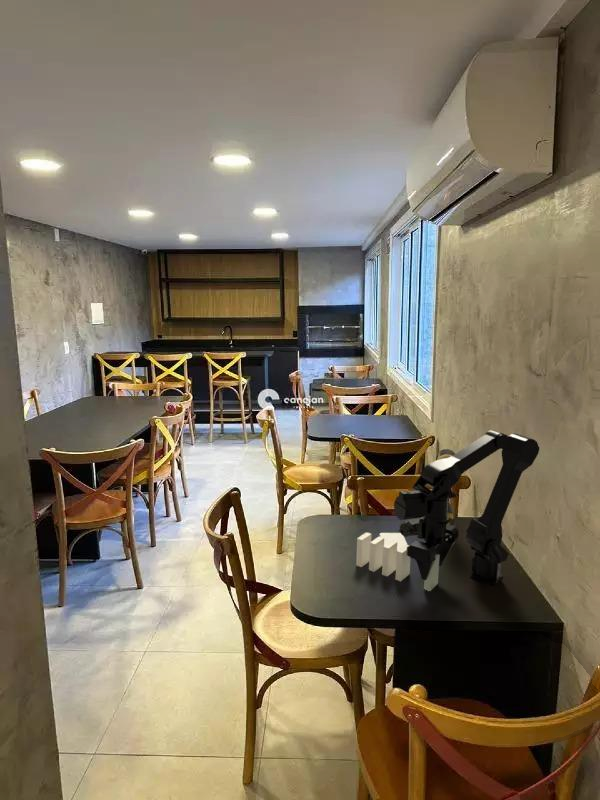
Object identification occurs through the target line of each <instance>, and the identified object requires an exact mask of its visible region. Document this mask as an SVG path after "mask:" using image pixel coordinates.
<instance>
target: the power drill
mask: <svg viewBox="0 0 600 800" xmlns="http://www.w3.org/2000/svg"><path fill="white" fill-rule="evenodd" d="M455 454H456V453H455V452H454V450H452V449H449V448H445V449H441V450H439V452H438V453H437V455H436V457H435V461H437V460H440V459H445V458H449V457H451V456H453V455H455ZM450 499H451V498H448V510H447V518H450V522H449V523H448V524H449V525H452V526H456V527H457V523H456V515H455V508H454V506H453V505H452V504H451V503H450ZM451 537H452V535H451Z"/></svg>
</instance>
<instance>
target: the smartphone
mask: <svg viewBox="0 0 600 800" xmlns="http://www.w3.org/2000/svg"><path fill="white" fill-rule="evenodd" d="M379 536H380V537H383V538H384V546H385V545H386V544H388V543H389V542H390V541H392V540H393V541H396V542H397V551H398V550H399V549H400V548H402V547H403V546H404V545H405V544H406V545H408V542H407V541H406V537H404V536H403V535H402V534H401V533H400V532H380V533H379Z"/></svg>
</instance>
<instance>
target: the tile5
mask: <svg viewBox="0 0 600 800" xmlns="http://www.w3.org/2000/svg"><path fill="white" fill-rule="evenodd" d="M372 535H373V534H372V533H370V532H366V531H365V532H364V533H363V534H361V535H360V536H359V537H357V538H356V560H355V561H356V562H355V563H356V565H355V566H357V567H359V568H362V567H364V566H365V565H366V564H369V556H370V542H371V541H372Z"/></svg>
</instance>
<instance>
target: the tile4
mask: <svg viewBox="0 0 600 800" xmlns="http://www.w3.org/2000/svg"><path fill="white" fill-rule="evenodd" d="M383 546H384V538H383V537H380V535H378V537H376V538H374V539H373V540H371V542H370V556H369V562H368V571H371V572H373V573H374V572H376V571H378V570H379V569H380V568H381V567H382V562H383Z"/></svg>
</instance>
